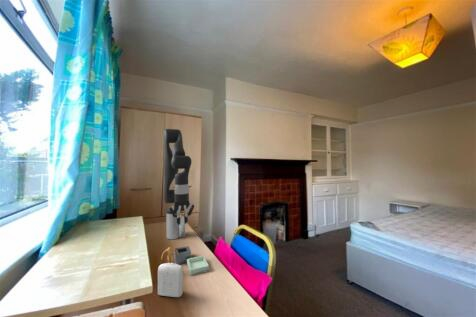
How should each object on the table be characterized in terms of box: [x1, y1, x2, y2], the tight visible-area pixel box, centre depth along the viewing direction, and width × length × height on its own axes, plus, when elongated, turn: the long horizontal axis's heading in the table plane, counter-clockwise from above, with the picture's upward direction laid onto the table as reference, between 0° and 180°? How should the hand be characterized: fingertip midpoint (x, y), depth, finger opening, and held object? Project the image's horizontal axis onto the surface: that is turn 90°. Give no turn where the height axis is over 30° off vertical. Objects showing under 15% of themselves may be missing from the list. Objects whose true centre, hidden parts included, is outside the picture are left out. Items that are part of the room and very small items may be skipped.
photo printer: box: [157, 262, 184, 298], centre depth 81 cm, size 10×4×12 cm, turn 81°
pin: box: [179, 211, 186, 238], centre depth 108 cm, size 4×4×13 cm
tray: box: [186, 255, 210, 276], centre depth 100 cm, size 11×9×2 cm
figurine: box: [160, 246, 179, 263], centre depth 96 cm, size 8×6×12 cm
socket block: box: [173, 245, 192, 265], centre depth 108 cm, size 8×8×5 cm
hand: (182, 223), depth 108 cm, fingers closed on pin, 3 cm apart
